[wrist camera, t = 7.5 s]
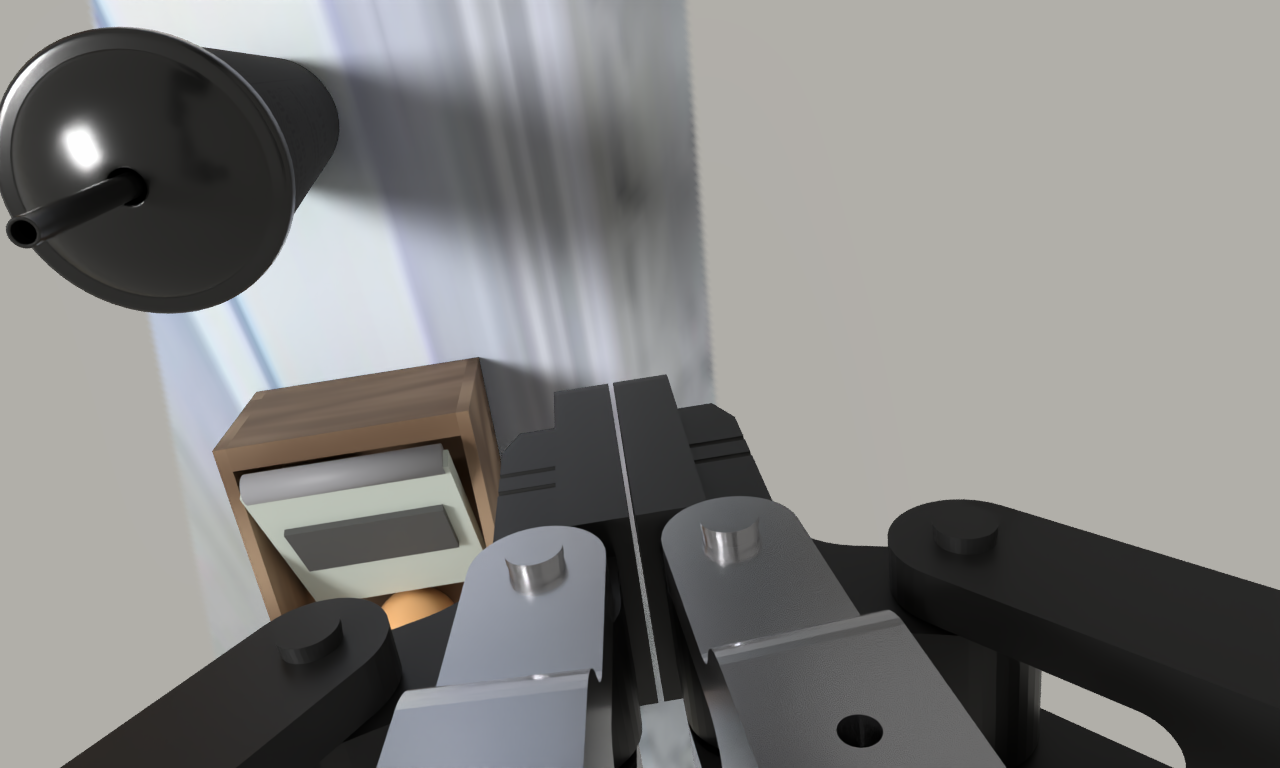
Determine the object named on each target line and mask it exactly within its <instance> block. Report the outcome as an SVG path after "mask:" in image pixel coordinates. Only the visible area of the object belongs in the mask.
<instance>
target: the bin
mask: <svg viewBox="0 0 1280 768" xmlns="http://www.w3.org/2000/svg"><path fill="white" fill-rule="evenodd" d="M439 443H441V444H442V446H443V449H444V450H448V451H449V454H450V456H451V459H452V461H453V464H454V466H455V469H456V471H457V474H458V476H459V479H460V481H461V484H462V486H463V489H464V491H465V493H466V496H467V498H468V501H469V503H470V506H471V508H472V511H473V513H474V516H475V518H476V521H477V523H478V526H479V528H480V531H481V533H482V536H483V538H484V541H485V543H486V547H488V546H489V545H491V544H493V537H494V528H495V518H496V508H497V498H498V496H499V494H498V489H499V479H500V469H501V459H500V454H499V450H498V445H497V440H496V436H495V431H494V426H493V422H492V417H491V412H490V408H489V403H488V398H487V394H486V389H485V384H484V380H483V375H482V370H481V365H480V361H479V357H477V358H471V359H465V360H458V361H452V362H445V363H439V364H433V365H426V366H420V367H413V368H407V369H401V370H394V371H388V372H381V373H375V374H369V375H362V376H356V377H349V378H343V379H337V380H330V381H324V382H318V383H311V384H305V385H298V386H292V387H286V388H279V389H273V390H266V391H260V392H256V393H255V395H254V396H253V397H252V399H251V400H250V401H249V403H248V404H247V405H246V407H245V408H244V409H243V411H242V412H241V413H240V415H239V416H238V417H237V419H236V420H235V421H234V423H233V424H232V425H231V427H230V428H229V429H228V431H227V432H226V433H225V435H224V436H223V437H222V439H221V440H220V441H219V443H218V444H217V445H216V447H215V448H214V449H213V451H212V452H213V455H214V458H215V461H216V464H217V467H218V469H219V472H220V475H221V478H222V481H223V484H224V487H225V490H226V493H227V496H228V498H229V501H230V504H231V507H232V510H233V513H234V516H235V519H236V522H237V525H238V527H239V530H240V533H241V536H242V539H243V542H244V545H245V548H246V551H247V554H248V556H249V559H250V562H251V565H252V568H253V571H254V574H255V577H256V580H257V583H258V585H259V588H260V591H261V594H262V597H263V600H264V603H265V606H266V609H267V612H268V615H269V617H270V620H271V621H272V620H274V619H275V618H277V617H279V616H281V615H283V614H285V613H287V612H289V611H291V610H294V609H296V608H299V607H301V606H304V605H307V604H310V603H314V602H316V601H315V599H314V598H313V597H312V595H311V594H310V593H309V591H308V590H307V589H306V587H305V586H304V585H303V583H302V582H301V581H300V579H299V578H298V577H297V575H296V574H295V573H294V571H293V570H292V569H291V567H290V566H289V565H288V563H287V562H286V561H285V559H284V558H283V557H282V555H281V554H280V553H279V551H278V550H277V549H276V547H275V546H274V545H273V543H272V542H271V541H270V539H269V538H268V537H267V535H266V534H265V533H264V531H263V530H262V529H261V527H260V526H259V525H258V523H257V522H256V521H255V519H254V518H253V517H252V515H251V514H250V513H249V511H248V510H247V509H246V507H245V506H244V505H243V503H242V502H241V501H240V479H241V476H242V475H244V474H251V473H257V472H263V471H269V470H276V469H282V468H288V467H295V466H301V465H307V464H313V463H320V462H326V461H332V460H339V459H345V458H351V457H357V456H364V455H370V454H376V453H383V452H389V451H395V450H401V449H408V448H414V447H420V446H427V445H433V444H439ZM463 585H464V582H459V583H453V584H446V585H440V586H434V587H431V588H435V589H437V590H439V591H441V592H442V593H444V594H445V595H447V596H448V597H449V598H450V599H451V600H452V602H453V603H454V604H455V603H456V602H458V601H459V600H460V596H461V592H462V589H463ZM393 594H395V593H392V594H385V595H379V596H373V597H367V598H361V599H364V600H368V601H371V602H373V603H375V604H377V605H379V606H380V607H382V605H383V604H384V603H385V602H386V601H387V600H388V599H389V598H390V597H391V596H392V595H393Z"/></svg>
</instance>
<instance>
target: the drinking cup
mask: <svg viewBox="0 0 1280 768" xmlns="http://www.w3.org/2000/svg"><path fill="white" fill-rule="evenodd" d="M338 135H339V119H338V114H337V110H336V107H335V104H334V101H333V99H332V97H331V95H330V94H329V92H328V90H327V89H326V87H325V86H324V85H323V84H322V82H321V81H320V80H319V79H318V78H317V77H316V76H315V75H313V74H312V73H311V72H310V71H308V70H307V69H305V68H304V67H302V66H300V65H298V64H296V63H294V62H291V61H288V60H284V59H280V58H274V57H267V56H260V55H253V54H246V53H239V52H232V51H225V50H218V49H212V48H205V47H200V46H198V45H195V44H193V43H191V42H189V41H187V40H184V39H182V38H179V37H176V36H173V35H170V34H167V33H163V32H159V31H155V30H149V29H143V28H133V27H106V28H98V29H91V30H87V31H83V32H79V33H75V34H72V35H70V36H67V37H64V38H62V39H60V40H58V41H56V42H54V43H52V44H50V45H48V46H47V47H45V48H44V49H42V50H41V51H39V52H38V53H37V54H35V55H34V56H33V57H32V58H31V59H30V60H28V61H27V62H26V64H25V65H24V66H23V67H22V68H21V69H20V70H19V72H18V73H17V74H16V75H15V77H14V78H13V80H12V81H11V82H10V84H9V86H8V88H7V90H6V92H5V93H4V96H3V98H2V101H1V103H0V193H1V196H2V198H3V201H4V203H5V206H6V208H7V210H8V212H9V214H10V216H11V218H12V219H10V220H9V221H8V223H7V226H6V233H7V236H8V238H9V239H10V240H11V241H12V242H13V243H14V244H15V245H17V246H19V247H22V248H33V250H34V251H35V252H36V253H37V254H38V255H39V256H40V257H41V258H42V259H43V260H44V261H45V262H46V263H47V264H48V265H49V266H50V267H51V268H52V269H54V270H55V271H56V272H57V273H59V274H60V275H61V276H62V277H63V278H65V279H66V280H68V281H69V282H71V283H72V284H74V285H75V286H77V287H79V288H80V289H82V290H84V291H85V292H87V293H89V294H91V295H93V296H95V297H97V298H100V299H102V300H104V301H107V302H110V303H112V304H115V305H119V306H122V307H125V308H129V309H133V310H138V311H143V312H151V313H166V314H173V313H186V312H193V311H199V310H202V309H206V308H210V307H213V306H216V305H219V304H221V303H224V302H226V301H228V300H230V299H232V298H234V297H235V296H237V295H239V294H240V293H242V292H243V291H245V290H246V289H247V288H249V287H250V286H251V285H253V284H254V283H255V282H256V281H257V280H258V279H259V278H260V277H261V276H262V275H263V274H264V273H265V272H266V271H267V270H268V269H269V267H270V266H271V265H272V264H273V262H274V261H275V259H276V258H277V256H278V255H279V253H280V251H281V250H282V248H283V246H284V244H285V242H286V239H287V236H288V234H289V231H290V228H291V224H292V220H293V215H294V213H295V211H296V210H297V208H298V207H299V205H300V204H301V202H302V201H303V199H304V197H305V196H306V194H307V193H308V191H309V190H310V188H311V187H312V185H313V184H314V182H315V181H316V179H317V177H318V176H319V174H320V173H321V171H322V170H323V168H324V167H325V165H326V164H327V162H328V160H329V159H330V157H331V156H332V154H333V152H334V150H335V147H336V144H337V140H338Z"/></svg>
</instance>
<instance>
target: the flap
mask: <svg viewBox="0 0 1280 768" xmlns="http://www.w3.org/2000/svg"><path fill="white" fill-rule="evenodd" d="M240 501H241V502H242V503H243V505H244V506H245V507H246V509H247V510H248V511H249V513H250V514H251V515H252V517H253V518H254V519H255V521H256V522H257V523H258V525H259V526H260V527H261V529H262V530H263V531H264V533H265V534H266V535H267V537H268V538H269V539H270V541H271V542H272V543H273V545H274V546H275V547H276V549H277V550H278V551H279V553H280V554H281V555H282V557H283V558H284V559H285V561H286V562H287V563H288V565H289V566H290V567H291V569H292V570H293V571H294V573H295V574H296V575H297V577H298V578H299V579H300V581H301V582H302V583H303V585H304V586H305V587H306V589H307V590H308V591H309V593H310V594H311V595H312V597H313V598H314V599H315V601H316V602H318V601H322V600H327V599H334V598H359V599H361V598H367V597H373V596H379V595H385V594H392V593H398V592H404V591H410V590H416V589H422V588H428V587H434V586H440V585H446V584H453V583H459V582H464V581H465V578H466V574H467V571H468V568H469V566H470V564H471V563H472V561H473V560H474V558H475V557H476V556H477V555H478V554H479V553H480V552H481V551H483V550H484V549H485V548H487V547H486V543H485V541H484V538H483V536H482V533H481V531H480V528H479V526H478V523H477V521H476V518H475V516H474V513H473V511H472V508H471V506H470V503H469V501H468V498H467V496H466V493H465V491H464V489H463V486H462V484H461V481H460V479H459V476H458V474H457V471H456V469H455V466H454V464H453V461H452V459H451V456H450V454H449V451H448V450H444V449H443V446H442V444H441V443H439V444H433V445H427V446H420V447H414V448H408V449H401V450H395V451H389V452H383V453H376V454H370V455H364V456H357V457H351V458H345V459H339V460H332V461H326V462H320V463H313V464H307V465H301V466H295V467H288V468H282V469H276V470H269V471H263V472H257V473H251V474H244V475H242V476H241V479H240Z"/></svg>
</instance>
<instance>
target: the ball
mask: <svg viewBox="0 0 1280 768" xmlns="http://www.w3.org/2000/svg"><path fill="white" fill-rule="evenodd" d="M453 604H454V603H453V602H452V600H451V599H450V598H449V597H448V596H447V595H445V594H444V593H442V592H441V591H439V590H437V589H435V588H431V587H428V588H422V589H416V590H410V591H404V592H398V593H395V594H393V595H392V596H391V597H390V598H389V599H388V600H387V601H386V602H385V603H384V604H383V605H382V607H381V608H382V609H383V610H384V611H385V613H386V614H387V616H388V620H389V623H390V627H391V630H392V629H395V628H398V627H400V626H403V625H406V624H408V623H411V622H414V621H416V620H419V619H422V618H425V617H427V616H430V615H432V614H435V613H437V612H439V611H442V610H443V609H445V608H447V607H449V606H451V605H453Z"/></svg>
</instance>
